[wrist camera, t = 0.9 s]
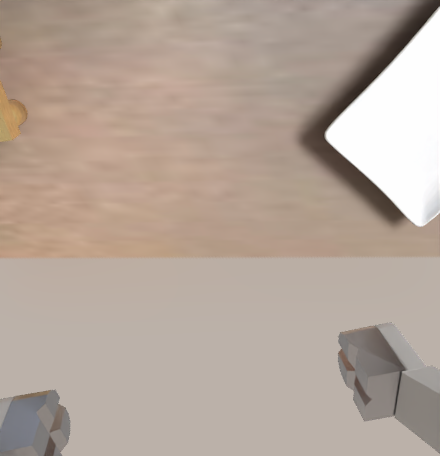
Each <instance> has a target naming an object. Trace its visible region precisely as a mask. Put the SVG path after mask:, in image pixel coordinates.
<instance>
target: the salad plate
mask: <svg viewBox="0 0 440 456" xmlns="http://www.w3.org/2000/svg"><path fill="white" fill-rule="evenodd" d="M324 137H325V139H326V141H327V142H328V143H329V144H330V145H331V146H332V147H333V148H334V149H335V150H336V151H337V152H339V153H340V154H341V155H342V156H343V157H344V158H346V159H347V160H348V161H349V162H350V163H351V164H353V165H354V166H355V167H356V168H357V169H358V170H359V171H360V172H362V173H363V174H364V175H365V176H366V177H367V178H368V179H369V180H370V181H371V182H373V183H374V184H375V185H376V186H377V187H378V188H379V189H380V190H381V191H382V192H383V193H384V194H385V195H386V196H387V197H388V198H389V199H390V200H391V201H392V202H393V203H394V205H395V206H396V207H397V208H398V209H399V210H400V211H401V212H402V213H403V215H404V216H405V217H406V218H408V219H409V220H410V221H411V222H412V223H413V224H414V225H416V226H418V227H422V226H424V225H426V224H427V223H428V222H429V221H431V220H432V219H433V218H434V217H435V216H437V215H438V214H439V213H440V6H439V7H438V8H437V10H436V11H435V12H434V13H433V14H432V16H431V17H430V18H429V19H428V20H427V22H426V23H425V24H424V25H423V26H422V28H421V29H420V30H419V31H418V32H417V33H416V35H415V36H414V37H413V38H412V39H411V40H410V41H409V43H408V44H407V45H406V46H405V47H404V48H403V50H402V51H401V52H400V53H399V54H398V55H397V56H396V57H395V58H394V60H393V61H392V62H391V63H390V64H389V65H388V66H387V67H386V68H385V69H384V70H383V71H382V72H381V73H380V74H379V75H378V77H377V78H376V79H375V80H374V81H373V82H372V83H371V84H370V85H369V86H368V87H367V88H366V89H365V90H364V91H363V92H362V93H361V94H360V95H359V96H358V97H357V98H356V99H355V100H354V101H353V102H352V103H351V104H350V105H349V106H348V107H347V108H346V109H345V110H344V111H343V112H342V113H341V114H340V115H339V116H338V117H337V118H336V119H335V120H334V121H333V122H332V123H331V125H330V126H329V127H328V128H327V130H326V131H325V134H324Z"/></svg>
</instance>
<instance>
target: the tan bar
mask: <svg viewBox="0 0 440 456" xmlns="http://www.w3.org/2000/svg"><path fill="white" fill-rule="evenodd" d="M1 46H2V42H1V38H0V49H1ZM26 119H27V110H26V108H25V106H24V105H23V104H22V103H21V102H19V101H17V100H12V99H11V100H8V99H7V96H6V94H5V91H4V88H3V86H2V83H1V81H0V142H3V141H10V140H13V139H14V138H16V137H17V136H18V135H19V134H21V133H20V130H19V128H18V126H19V125H21V124H22V123H23V122H25V120H26Z"/></svg>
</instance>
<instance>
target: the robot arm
mask: <svg viewBox="0 0 440 456" xmlns="http://www.w3.org/2000/svg"><path fill="white" fill-rule="evenodd" d="M338 342H339V344H340V346H341V348H342V349H341V350H340V351H339V353H338V362H339V368H340V372H341V375H342V377H343V379H344V382H345V384H346V385H347V387H349V388H350V389H352V390H353V391H354V397H353V400H354V402H355V404H356V406H357V408H358V410H359V412H360V414H361V416H362V418H363V420H364V421H369V420H375V419H380V418H386V417H392V416H395V418H396V419H397V420H398V421H399V422H401V423H402V424H403V425H405V426H406V427H407V428H408V429H409V430H411V431H412V432H413V433H415V434H416V435H417V436H418V437H420V438H421V439H422V440H423V441H425V442H426V443H427V444H428V445H430V446H431V447H432V448H434V449H435V450H436V451H437V452H438V453H440V370H439V369H437V368H436V367H434V366H426V365H425V364H424V362H423V361H422V360H421V358H420V357H419V356H418V354H417V353H416V352H415V350H414V349H413V348H412V347H411V345H410V344H409V343H408V341H407V340H406V339H405V337H404V336H403V335H402V333H401V332H400V331H399V329H398V328H397V327H396V325H395V324H393V323H392V322H390V323H385V324H380V325H375V326H369V327H364V328H360V329H354V330H350V331H345V332H340V334H339V340H338ZM59 399H60V397H59V395H58V393H57V392H56V390H49V391H43V392H37V393H31V394H25V395H20V396H15V397H9V398H4V399H0V456H62V454H61V453H60V452H61V451H62V450H63V448H64V447H65V446H66V445H67V443H68V440H69V435H70V418H69V414H68V412H67V410H66V408H65V407H63V406H61V405H59V404H58V403H59Z"/></svg>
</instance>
